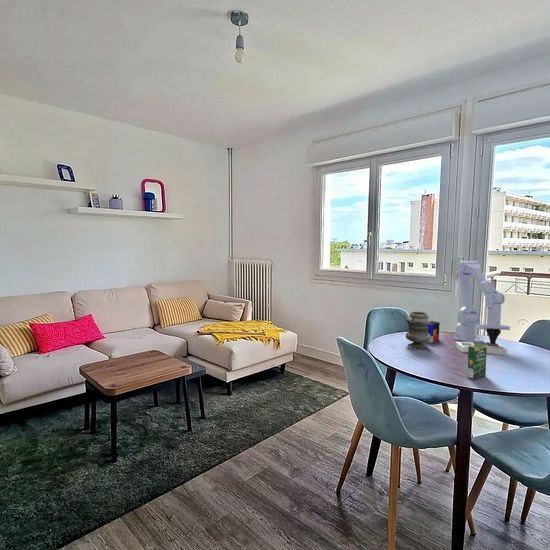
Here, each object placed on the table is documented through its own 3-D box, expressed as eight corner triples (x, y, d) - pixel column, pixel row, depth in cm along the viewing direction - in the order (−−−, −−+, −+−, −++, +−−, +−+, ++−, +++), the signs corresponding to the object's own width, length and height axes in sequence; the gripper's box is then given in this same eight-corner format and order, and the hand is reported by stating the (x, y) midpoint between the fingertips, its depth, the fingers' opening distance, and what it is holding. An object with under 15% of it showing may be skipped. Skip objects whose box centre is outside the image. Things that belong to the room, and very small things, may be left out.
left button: (463, 349, 178) (464, 345, 178) (460, 347, 182) (461, 342, 182) (472, 350, 178) (472, 345, 177) (469, 348, 181) (469, 343, 181)
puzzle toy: (430, 343, 191) (430, 324, 191) (412, 339, 199) (413, 321, 198) (438, 339, 198) (439, 322, 197) (421, 336, 205) (422, 319, 205)
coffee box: (473, 380, 138) (474, 347, 137) (466, 377, 141) (467, 345, 140) (486, 376, 142) (487, 344, 141) (479, 374, 144) (480, 342, 143)
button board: (462, 352, 174) (462, 346, 174) (455, 346, 184) (455, 341, 184) (506, 354, 171) (507, 348, 171) (497, 348, 181) (497, 342, 181)
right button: (489, 349, 176) (490, 344, 176) (486, 347, 180) (486, 342, 180) (498, 349, 176) (498, 344, 175) (494, 347, 179) (495, 342, 179)
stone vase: (410, 350, 178) (411, 315, 176) (401, 343, 190) (402, 310, 188) (434, 350, 178) (435, 314, 176) (423, 343, 190) (425, 310, 188)
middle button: (476, 347, 177) (477, 342, 177) (473, 345, 181) (473, 340, 181) (485, 347, 176) (485, 343, 176) (482, 345, 180) (482, 340, 180)
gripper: (481, 318, 174) (480, 345, 175) (513, 318, 171) (512, 346, 172) (475, 315, 181) (474, 341, 182) (506, 316, 178) (505, 342, 179)
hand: (492, 343), depth 178 cm, fingers closed, pressing on right button
